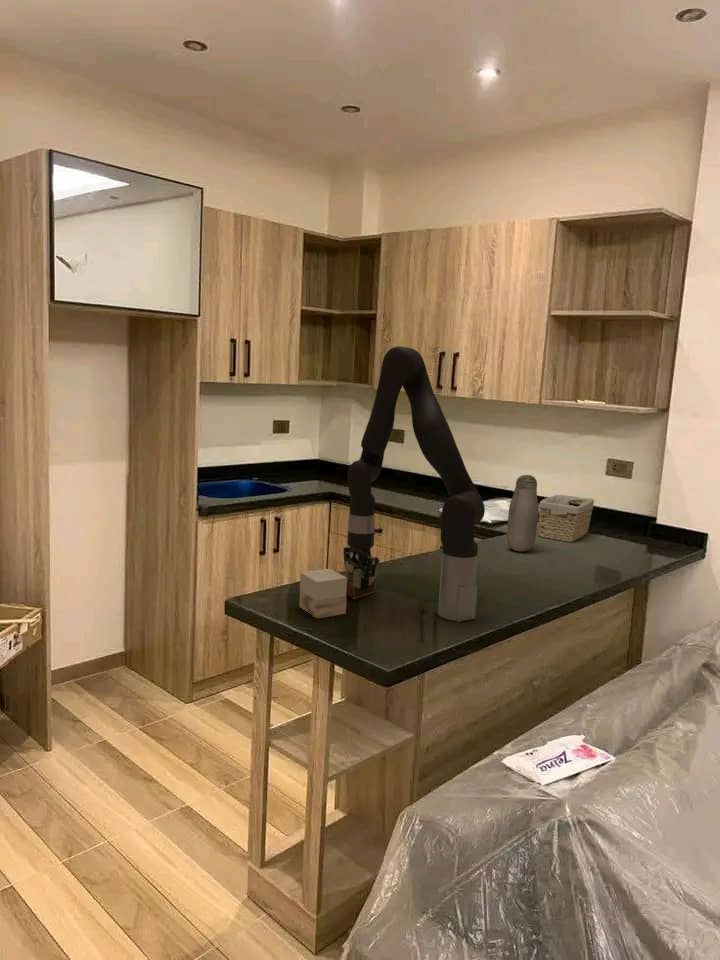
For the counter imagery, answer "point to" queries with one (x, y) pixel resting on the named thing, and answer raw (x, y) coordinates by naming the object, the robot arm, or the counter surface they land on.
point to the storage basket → (564, 517)
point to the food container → (358, 580)
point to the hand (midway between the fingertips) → (358, 587)
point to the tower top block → (323, 584)
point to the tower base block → (323, 606)
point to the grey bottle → (523, 514)
